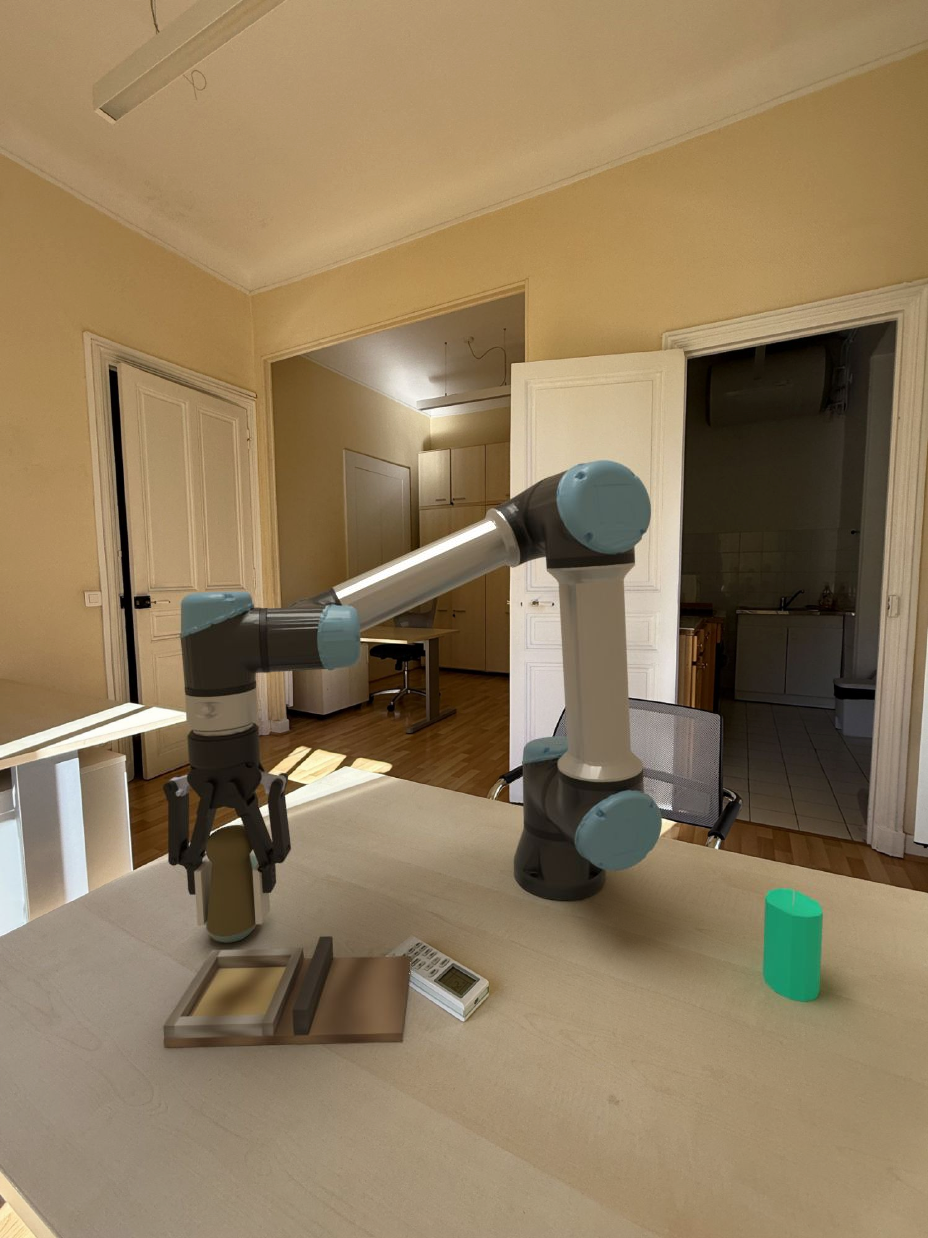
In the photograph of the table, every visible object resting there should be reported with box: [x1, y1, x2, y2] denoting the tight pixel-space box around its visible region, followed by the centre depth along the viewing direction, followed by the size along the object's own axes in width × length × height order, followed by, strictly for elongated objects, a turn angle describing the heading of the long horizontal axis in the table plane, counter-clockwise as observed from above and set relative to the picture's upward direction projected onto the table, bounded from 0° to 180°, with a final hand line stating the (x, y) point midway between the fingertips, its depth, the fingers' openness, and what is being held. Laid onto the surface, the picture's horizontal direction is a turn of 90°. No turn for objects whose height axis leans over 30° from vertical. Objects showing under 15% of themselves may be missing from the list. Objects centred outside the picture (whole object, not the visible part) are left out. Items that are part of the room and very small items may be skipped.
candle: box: [762, 887, 824, 1003], centre depth 67 cm, size 6×6×12 cm
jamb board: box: [162, 935, 412, 1048], centre depth 66 cm, size 26×12×4 cm, turn 90°
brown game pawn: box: [205, 824, 255, 936], centre depth 65 cm, size 6×6×11 cm
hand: (234, 917), depth 65 cm, fingers closed on brown game pawn, 6 cm apart
